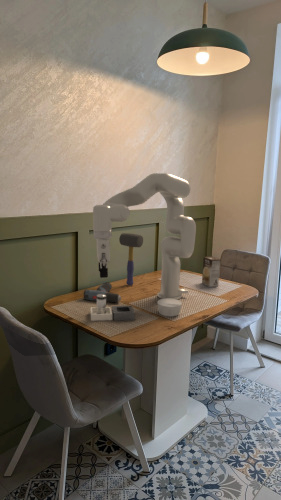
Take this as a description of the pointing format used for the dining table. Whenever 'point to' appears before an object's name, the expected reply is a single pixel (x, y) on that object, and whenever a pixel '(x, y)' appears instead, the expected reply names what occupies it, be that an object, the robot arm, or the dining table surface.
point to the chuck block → (123, 313)
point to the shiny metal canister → (101, 304)
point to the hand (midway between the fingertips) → (103, 274)
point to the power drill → (102, 290)
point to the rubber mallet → (130, 252)
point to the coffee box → (211, 271)
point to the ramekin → (169, 307)
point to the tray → (100, 316)
